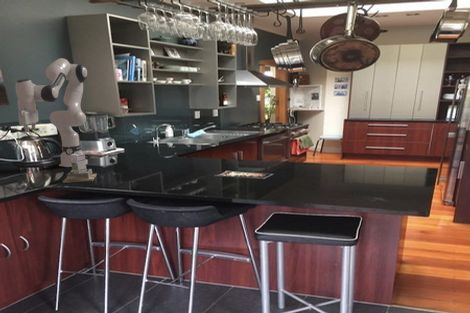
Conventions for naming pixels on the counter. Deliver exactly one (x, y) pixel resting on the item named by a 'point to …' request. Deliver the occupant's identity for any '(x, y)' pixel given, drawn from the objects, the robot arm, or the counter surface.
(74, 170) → the syrup box
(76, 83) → the robot arm
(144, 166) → the counter surface
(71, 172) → the cradle jig
